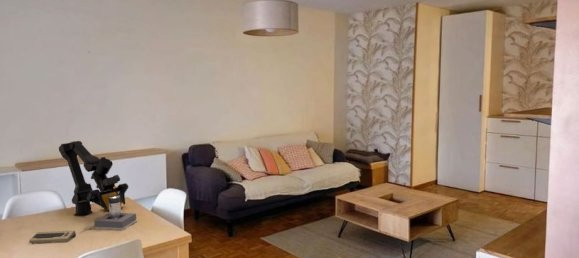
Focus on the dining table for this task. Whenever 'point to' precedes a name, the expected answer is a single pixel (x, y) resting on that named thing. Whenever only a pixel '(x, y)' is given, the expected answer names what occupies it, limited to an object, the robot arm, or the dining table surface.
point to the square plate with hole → (115, 221)
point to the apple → (105, 197)
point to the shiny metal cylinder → (114, 207)
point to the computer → (52, 237)
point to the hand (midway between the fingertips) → (115, 206)
